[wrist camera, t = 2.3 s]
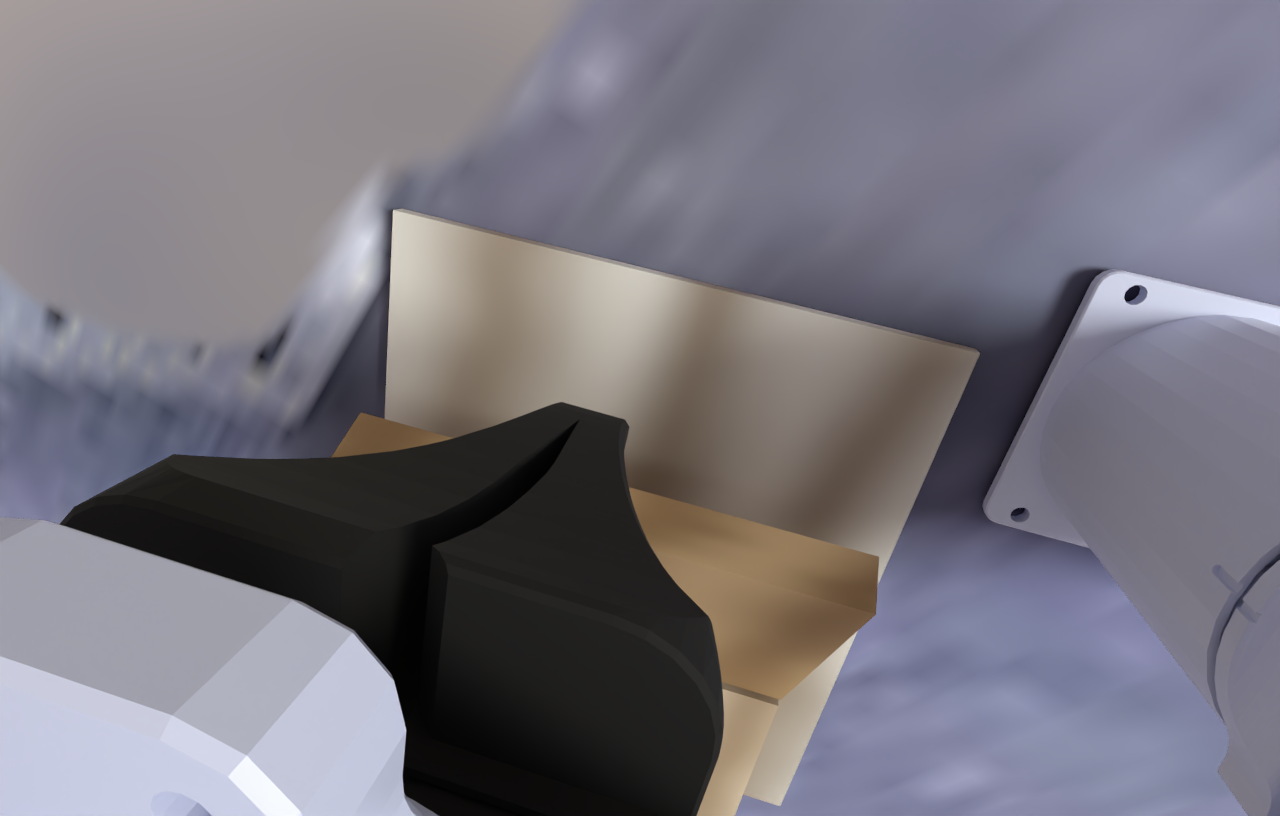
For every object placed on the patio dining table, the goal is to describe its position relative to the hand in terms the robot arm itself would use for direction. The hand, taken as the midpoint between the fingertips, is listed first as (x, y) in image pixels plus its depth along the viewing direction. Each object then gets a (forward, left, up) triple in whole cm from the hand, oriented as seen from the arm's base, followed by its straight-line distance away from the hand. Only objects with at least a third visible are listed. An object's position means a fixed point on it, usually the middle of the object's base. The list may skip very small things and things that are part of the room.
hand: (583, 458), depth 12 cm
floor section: (0, +8, -9) cm, 13 cm away
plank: (0, +7, -6) cm, 9 cm away
